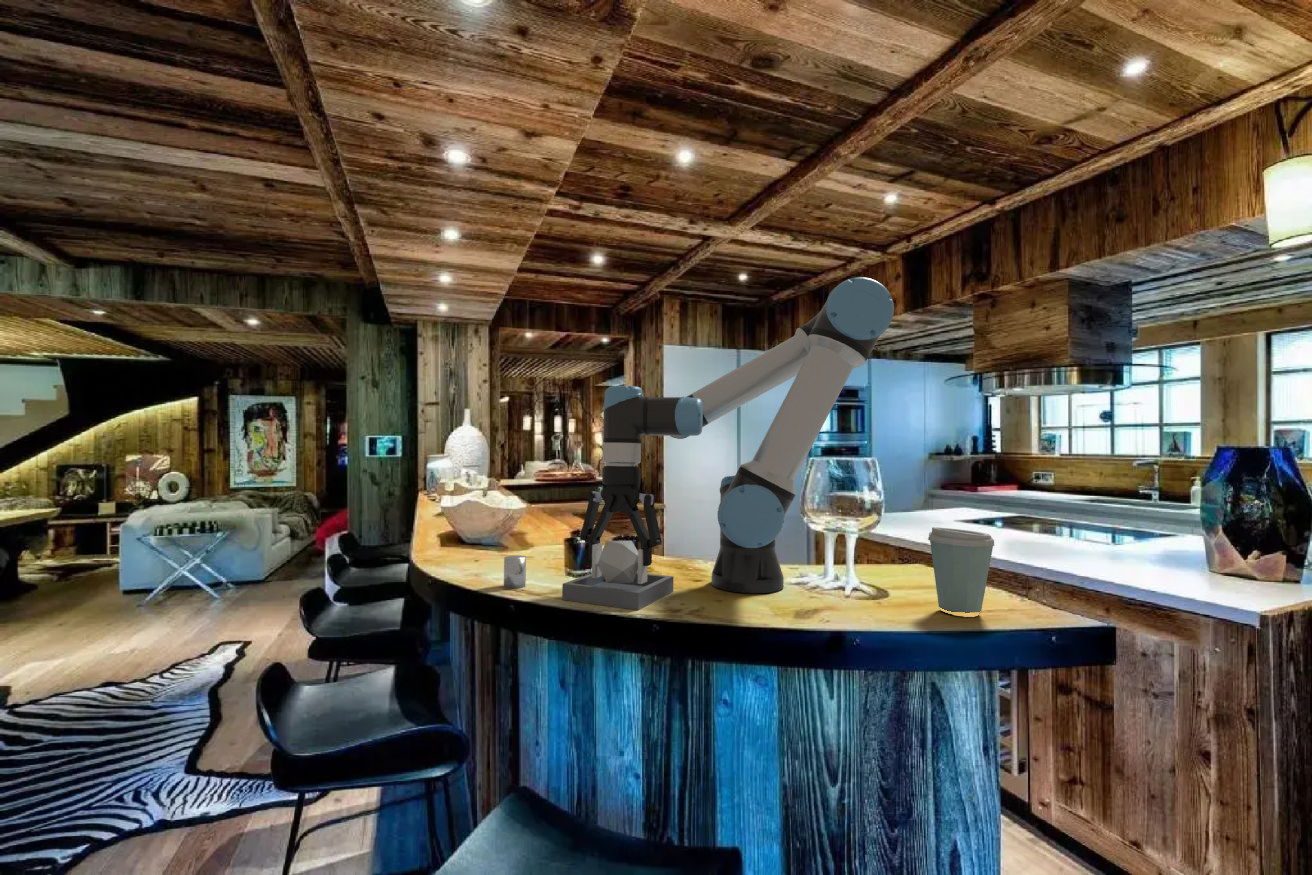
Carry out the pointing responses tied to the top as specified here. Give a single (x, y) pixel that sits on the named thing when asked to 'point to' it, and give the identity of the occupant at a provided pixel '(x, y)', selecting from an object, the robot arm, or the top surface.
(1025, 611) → the top surface
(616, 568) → the die
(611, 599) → the slate tray
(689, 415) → the robot arm
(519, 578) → the steel jigger
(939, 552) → the disposable coffee cup
